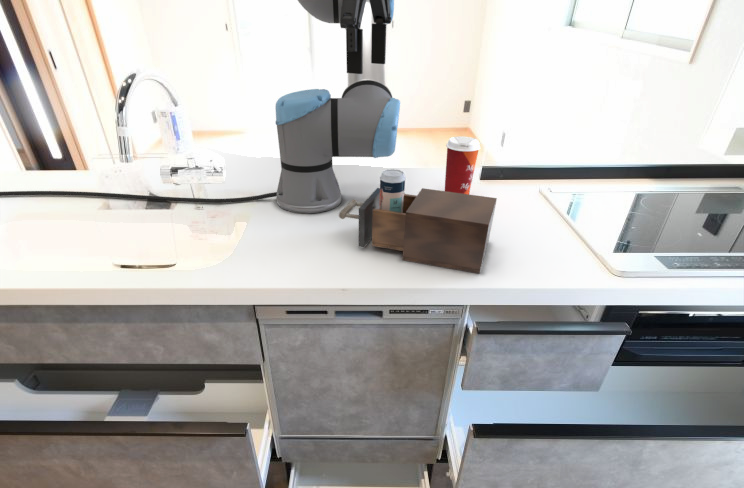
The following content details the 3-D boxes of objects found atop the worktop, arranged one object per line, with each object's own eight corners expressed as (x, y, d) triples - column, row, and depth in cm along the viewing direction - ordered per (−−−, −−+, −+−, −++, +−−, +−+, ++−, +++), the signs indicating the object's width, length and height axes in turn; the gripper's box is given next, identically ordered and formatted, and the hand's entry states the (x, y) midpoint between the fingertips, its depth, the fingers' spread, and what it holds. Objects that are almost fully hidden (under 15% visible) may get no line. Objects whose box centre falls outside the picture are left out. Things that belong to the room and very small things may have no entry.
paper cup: (471, 208, 105) (481, 146, 96) (438, 205, 106) (445, 143, 97) (471, 196, 111) (481, 136, 102) (441, 193, 112) (448, 134, 103)
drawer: (335, 242, 88) (333, 204, 83) (355, 220, 96) (354, 184, 92) (426, 258, 83) (430, 219, 79) (438, 233, 92) (442, 196, 87)
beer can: (388, 226, 92) (390, 166, 84) (406, 232, 89) (411, 172, 82) (373, 233, 89) (374, 173, 81) (392, 240, 86) (395, 179, 79)
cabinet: (402, 260, 85) (405, 212, 79) (418, 232, 94) (422, 188, 88) (479, 273, 81) (489, 224, 75) (487, 244, 90) (496, 198, 85)
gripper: (365, -99, 60) (364, 79, 74) (411, -78, 79) (403, 61, 92) (314, -97, 62) (322, 76, 75) (371, -78, 81) (369, 58, 94)
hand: (367, 68), depth 84 cm, fingers open, 13 cm apart
